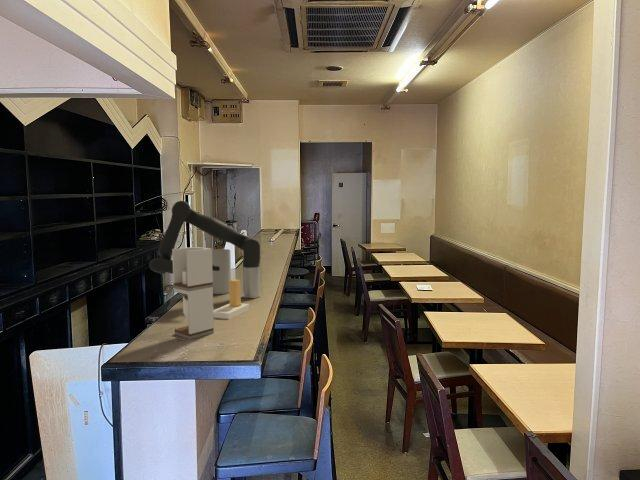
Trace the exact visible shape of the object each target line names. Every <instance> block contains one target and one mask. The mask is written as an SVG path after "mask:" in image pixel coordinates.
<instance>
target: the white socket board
mask: <svg viewBox="0 0 640 480" xmlns="http://www.w3.org/2000/svg"><path fill="white" fill-rule="evenodd" d="M248 310H250V303H242V302H241V306H239V307H230V302H229V303H227V304H225V305H222V306H220V307H218V308H215V309H213V319H225V320H230V319H232V318H235V317H236V316H238V315H240V314H242V313H244V312H246V311H248Z"/></svg>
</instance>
